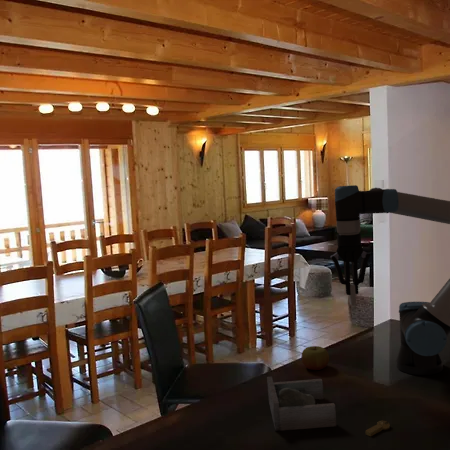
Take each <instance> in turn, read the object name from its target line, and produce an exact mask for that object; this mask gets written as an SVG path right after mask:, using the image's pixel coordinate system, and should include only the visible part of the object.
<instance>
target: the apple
mask: <svg viewBox="0 0 450 450" xmlns="http://www.w3.org/2000/svg"><path fill="white" fill-rule="evenodd" d="M329 361H330V355H329V352H328V351H327V349H326V348H324V347H322V346H317V345H312V346H308V347H305V348H304V349H303V351H302V352H301V363H302V365H303V366H304V367H305V368H306V369H308V370H310V371H320V370H323V369H325V368H326V367H327V366H328V364H329Z"/></svg>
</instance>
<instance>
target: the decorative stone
mask: <svg viewBox="0 0 450 450" xmlns="http://www.w3.org/2000/svg"><path fill="white" fill-rule="evenodd" d="M304 405H316V400H314V397H313V396H312V395H311V394H303V393H301V392H299V391H298V390H295V389H291V388H283V389H281V391H280V392H279V407H291V406H304Z"/></svg>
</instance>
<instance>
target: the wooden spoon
mask: <svg viewBox="0 0 450 450" xmlns="http://www.w3.org/2000/svg"><path fill="white" fill-rule="evenodd" d="M388 430H390V422H389V421H387V420H378V421H377V423H376V425H373V426H371V427H370V428H368V429H366V430H365V435H367V436H368V437H372V436H374V435H376V434H378V433H380V432H382V431H388Z"/></svg>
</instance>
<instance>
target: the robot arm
mask: <svg viewBox="0 0 450 450" xmlns="http://www.w3.org/2000/svg"><path fill="white" fill-rule="evenodd" d="M334 207H335V218H336V219H335V220H336V232H337V235H336V239H337V249H336V252H335V253H334V254H332V255H329V256H330V257H329V258H330V259H331V261H332V262H333V265H334V267H335V272H336V275H337V277H338V278H337V279H338V280H339V281H338V282H339V283H340V284H341V285H344V286H345V294H346V296H348V297H349V299H348V300H349V305H350V306H357V297H356V296H357V295H359V285H360V284H362V283H364V281H365V276H366V271H367V266H368V261H369V259H370V257H371V253H370V252H366V251H364V248H363V247H362V235H361V233H360V232H361V216H360V215H370V214H371V215H372V214H373V215H374V214H394V215H400V216H405V217H410V218H415V219H420V220H427V221H431V222H436V223H441V224H445V225H450V200H444V199H439V198H435V197H429V196H424V195H417V194H411V193H406V192H402V191H398V190H397V189H395V188H385V189H384V188H380V187H372V188H371V189H368V190H360V189H359V186H358V185H354V184H353V185H351V184H350V185H339V186H337V187H336V188H335V189H334ZM360 257H361V263H360V265H359V266H360V268H359V269H358V260H359V258H360ZM339 258H340V259H341V260H342V262H343V270H344V271H343V272H344V273H343V272H342V268H341V265H340V262H339ZM350 262H351V268H350ZM350 269H351V270H350ZM358 271H359V272H358ZM350 272H351V273H352V274H351V273H350ZM343 274H344V275H343ZM350 274H351V275H350ZM351 276H352V278H351ZM351 279H352V283H351ZM437 292H438V293H436V294H435V295H434V297H433V299H432V300H431V301H406V302H401V303H400V304H399V306H398V313H399V333H400V346H399V350H398V353H397V357H396V360H395V361H396V368H397V369H398V371H401V372H403V373H405V374H409V375H415V376H431V375H437V374H439V373H441V372H442V371H443V369H444V365H443V362H444V361H443V359H442V357H441V354H440V353H441V352H443V350H444V349H445V347H446V345H447V342H448V336H449V335H450V278H448V280H447V281H446V282H445V283H444V285H443V286H442V287H441V289H440V290H439V291H437Z"/></svg>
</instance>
